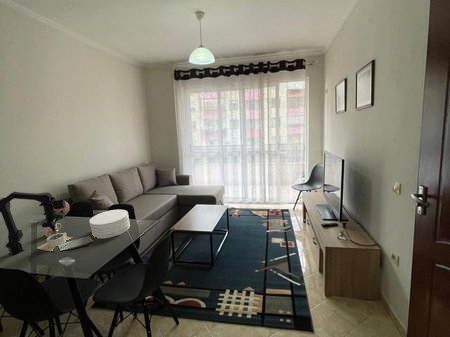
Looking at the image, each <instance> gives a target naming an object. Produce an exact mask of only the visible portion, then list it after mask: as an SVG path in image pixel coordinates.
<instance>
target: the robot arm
mask: <svg viewBox="0 0 450 337" xmlns="http://www.w3.org/2000/svg"><path fill="white" fill-rule="evenodd" d="M15 199H16V200H31V201H37V202H39V203H40V204H39V205H38V207H42V208H43V216H45V220H44V221H43V222H42V224H41V227H42V228H43V227H50V228H51V229H52V230H53V231H55V226H56V223H58V220H63V219H64V218H65V216H66V215H65V212H64V211H63V210H61V211H60V212H56V210H54V209H62V208H65V207H66V203H65V201H66V200H65V199H64V198H60V199H59V198H58V199H56V198H55V197H54V196H52V194H51V192H40V193H39V192H38V193H33V192H20V191H12V192H11V193H9V194H8V195H7V196H5V197H1V198H0V213H1V216H2V219H3V221H4V224H5V226H6V229H7V232H8V234H7V240H8V242H7V243H6V244H5V247H6V248H7V249H8V255H10V256H11V255H12V256H15V255H17V254H19V253H22V252H23V251H25V250H24V248H23V244H22V243H21V240H22V238H23V236H24V233H23V231H22V229H19V228H17V225H16V222H15V220H14V218H13V215H12V212H11V201H12V200H15Z"/></svg>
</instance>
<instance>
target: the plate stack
mask: <svg viewBox="0 0 450 337" xmlns="http://www.w3.org/2000/svg"><path fill="white" fill-rule="evenodd" d="M130 222H131V221H130V218H129V212H128V210H126V209H112V210H106V211H103V212H100V213H98V214H95V215H94V216H92V217H91V218H89V226H90V230H91V235H93V236H94V237H93V236H92V237H93V238H95V237H97V238H96V239H109V238H112V237H116V236H119V235H122V234H124V233H125V232H127V231H128V230H129V229H130V228H131V224H130Z"/></svg>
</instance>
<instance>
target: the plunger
mask: <svg viewBox="0 0 450 337" xmlns="http://www.w3.org/2000/svg"><path fill="white" fill-rule="evenodd" d="M50 233H51V234H54V235H55V236H54V237H52V238H50V239H49V240H55V239H58V238H60V237H62V235H58V236H56V233H60V231H59V229H55V231H53V230H51V231H50Z"/></svg>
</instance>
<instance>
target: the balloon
mask: <svg viewBox="0 0 450 337" xmlns="http://www.w3.org/2000/svg"><path fill="white" fill-rule="evenodd" d="M64 201H65V203H66V207H65V208H62V209H54V210H56V212H60V211H61V210H63V211H64V212H65V215H64V216H66V215H67V214H68V213H69V211H70V204H69V203H68V202H67V201H66V200H64Z"/></svg>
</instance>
